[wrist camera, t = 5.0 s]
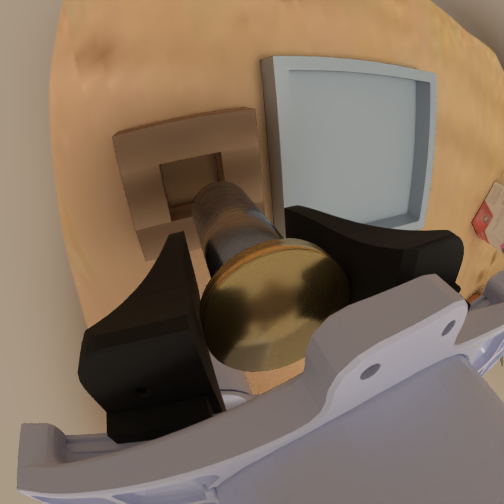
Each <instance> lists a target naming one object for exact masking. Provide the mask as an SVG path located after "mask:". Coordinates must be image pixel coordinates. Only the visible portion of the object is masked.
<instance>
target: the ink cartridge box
mask: <svg viewBox="0 0 504 504" xmlns="http://www.w3.org/2000/svg"><path fill="white" fill-rule="evenodd" d="M472 224H473V226H474V228H475V231H476V233H477V236H479V237H480V238H482V239H483V240H485V241H486V242H487V243H489V244H490V245H492V246H493V247H494V248H496V249H497V250H499V251H500V252H502V253H503V254H504V185H502V184H500V183H498V182H494V184H493V186H492V188H491V190H490V192H489V193H488V195H487V197H486V199H485V201H484V203H483V204H482V206H481V208H480V209H479V211H478V213H477V214H476V216H475V218H474V219H473V222H472Z"/></svg>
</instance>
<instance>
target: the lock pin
mask: <svg viewBox="0 0 504 504" xmlns="http://www.w3.org/2000/svg"><path fill="white" fill-rule="evenodd" d="M192 217H193V221H194V224H195V227H196V231H197V234H198V238H199V241H200V244H201V247H202V251H203V254H204V257H205V260H206V264H207V267H208V270H209V273H210V276H211V280H210V281H209V283H208V284H207V286H206V288H205V290H204V292H203V295H202V298H201V301H200V308H199V315H200V321H201V326H202V330H203V334H204V338H205V342H206V345H207V347H208V349H209V351H210V353H211V354H212V355H213V356H214V357H215V358H216V359H217V360H218V361H219V362H221V363H222V364H224V365H226V366H228V367H230V368H233V369H236V370H242V371H251V372H256V371H268V370H273V369H277V368H281V367H284V366H287V365H289V364H292V363H294V362H296V361H298V360H301V359H302V358H304V357H305V354H306V350H307V347H308V345H309V342H310V340H311V337H312V335H313V333H314V331H315V330H316V329H317V328H318V327H319V326H320V325H321V324H322V323H323V322H324V321H325V320H326V319H327V318H328V317H329V316H330V315H332V314H334V313H336V312H337V311H339V310H341V309H343V308H344V307H346V306H348V305H349V301H350V285H349V281H348V278H347V276H346V274H345V272H344V271H343V270H342V268H341V267H340V266H339V265H338V264H337V263H336V262H335V261H334V260H333V259H332V258H331V257H330V256H329V255H328V254H327V253H326V252H325V251H324V250H323V249H322V248H321V247H319V246H317V245H315V244H314V243H311V242H308V241H305V240H300V239H292V238H283V236H282V235H281V234H280V233H279V232H278V230H277V229H276V228H275V227H274V226H273V225H272V223H271V222H270V221H269V220H268V219H267V217H266V216H265V215H264V214H263V213H262V212H261V210H260V209H259V208H258V207H257V206H256V204H255V203H254V202H253V201H252V200H251V199H250V197H249V196H248V195H247V194H246V193H245V192H244V191H243V189H242V188H240V187H239V186H238V185H236V184H234V183H232V182H227V181H218V182H214V183H211V184H209V185H207V186H205V187H204V188H203V189H201V190H200V191H199V193H198V194H197V195H196V197H195V199H194V201H193V204H192Z"/></svg>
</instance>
